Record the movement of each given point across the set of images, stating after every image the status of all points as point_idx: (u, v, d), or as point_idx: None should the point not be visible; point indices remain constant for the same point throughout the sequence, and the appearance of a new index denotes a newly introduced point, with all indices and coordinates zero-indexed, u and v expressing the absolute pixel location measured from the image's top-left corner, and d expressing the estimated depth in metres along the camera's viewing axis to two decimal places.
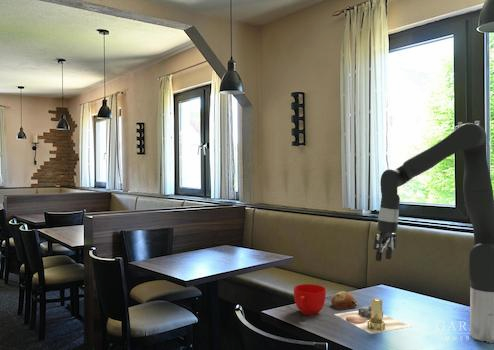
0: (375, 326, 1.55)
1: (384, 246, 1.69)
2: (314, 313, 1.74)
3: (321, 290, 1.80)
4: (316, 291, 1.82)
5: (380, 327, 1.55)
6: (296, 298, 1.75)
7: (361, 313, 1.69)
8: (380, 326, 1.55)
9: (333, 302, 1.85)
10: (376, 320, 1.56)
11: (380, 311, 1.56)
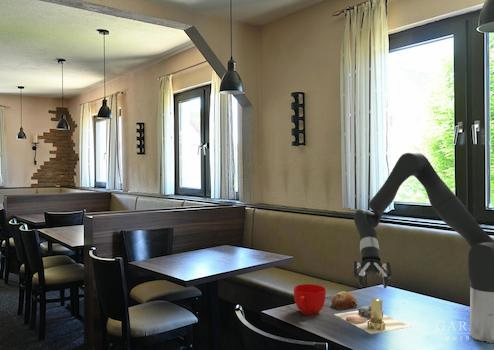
0: (375, 326, 1.55)
1: (362, 270, 1.69)
2: (314, 313, 1.74)
3: (321, 290, 1.80)
4: (316, 291, 1.82)
5: (380, 327, 1.55)
6: (296, 298, 1.75)
7: (361, 313, 1.69)
8: (380, 326, 1.55)
9: (333, 302, 1.85)
10: (376, 320, 1.56)
11: (380, 311, 1.56)
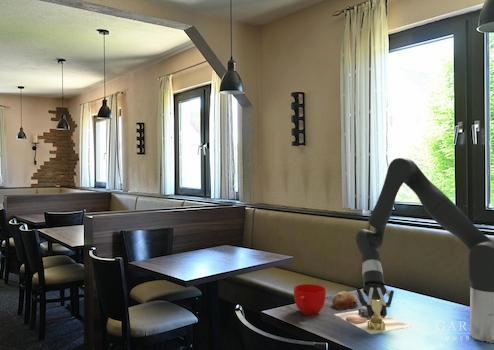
0: (375, 326, 1.55)
1: (369, 298, 1.59)
2: (314, 313, 1.74)
3: (321, 290, 1.80)
4: (316, 291, 1.82)
5: (380, 327, 1.55)
6: (296, 298, 1.75)
7: (361, 313, 1.69)
8: (380, 326, 1.55)
9: (334, 302, 1.85)
10: (376, 320, 1.56)
11: (380, 311, 1.56)
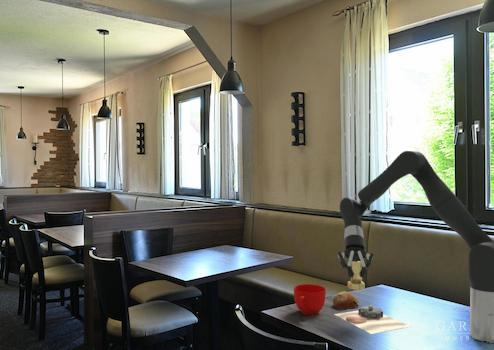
0: (354, 286, 1.62)
1: (349, 260, 1.66)
2: (314, 313, 1.74)
3: (321, 290, 1.80)
4: (316, 291, 1.82)
5: (359, 287, 1.62)
6: (296, 298, 1.75)
7: (361, 313, 1.69)
8: (359, 286, 1.62)
9: (335, 302, 1.85)
10: (355, 281, 1.63)
11: (359, 272, 1.63)
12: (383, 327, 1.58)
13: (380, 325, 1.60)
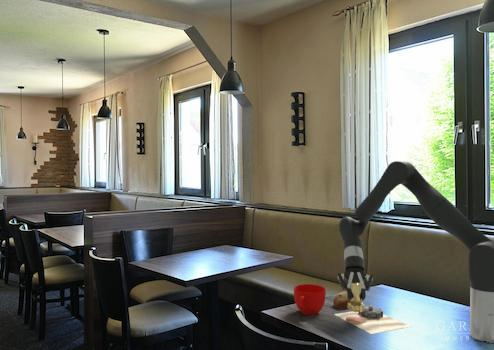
0: (354, 308, 1.62)
1: (349, 281, 1.67)
2: (314, 313, 1.74)
3: (321, 290, 1.80)
4: (316, 291, 1.82)
5: (359, 309, 1.62)
6: (296, 298, 1.75)
7: (361, 313, 1.69)
8: (359, 308, 1.62)
9: (335, 302, 1.84)
10: (355, 303, 1.63)
11: (359, 294, 1.63)
12: (383, 327, 1.58)
13: (380, 325, 1.60)
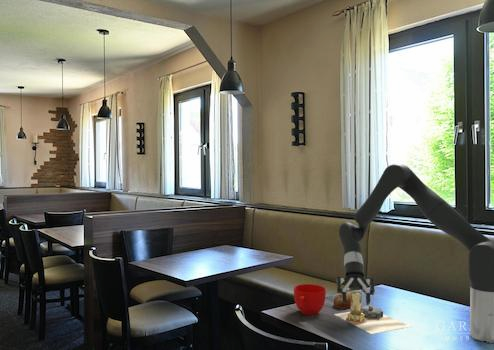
0: (354, 318, 1.62)
1: (346, 286, 1.67)
2: (314, 313, 1.74)
3: (321, 290, 1.80)
4: (316, 291, 1.82)
5: (359, 319, 1.62)
6: (296, 298, 1.75)
7: None
8: (359, 318, 1.62)
9: (335, 302, 1.84)
10: (355, 312, 1.63)
11: (359, 304, 1.63)
12: (383, 327, 1.58)
13: (380, 325, 1.60)
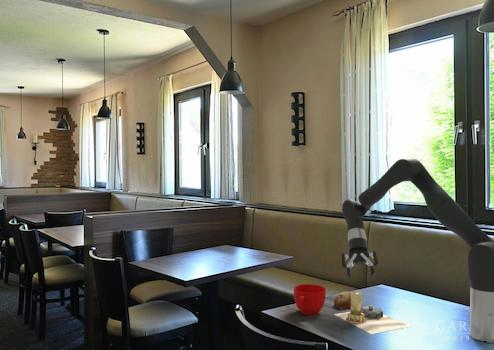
0: (354, 318, 1.62)
1: (349, 261, 1.78)
2: (314, 313, 1.74)
3: (321, 290, 1.80)
4: (316, 291, 1.82)
5: (359, 319, 1.62)
6: (296, 298, 1.75)
7: None
8: (359, 318, 1.62)
9: (336, 302, 1.84)
10: (355, 312, 1.63)
11: (359, 304, 1.63)
12: (383, 327, 1.58)
13: (380, 325, 1.60)
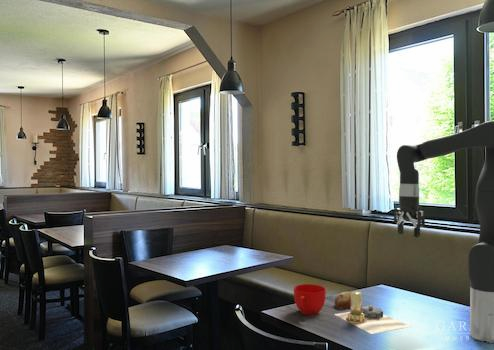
0: (354, 318, 1.62)
1: (398, 219, 1.77)
2: (314, 313, 1.74)
3: (321, 290, 1.80)
4: (316, 291, 1.82)
5: (359, 319, 1.62)
6: (296, 298, 1.75)
7: None
8: (359, 318, 1.62)
9: (336, 302, 1.84)
10: (355, 312, 1.63)
11: (359, 304, 1.63)
12: (383, 327, 1.58)
13: (380, 325, 1.60)
